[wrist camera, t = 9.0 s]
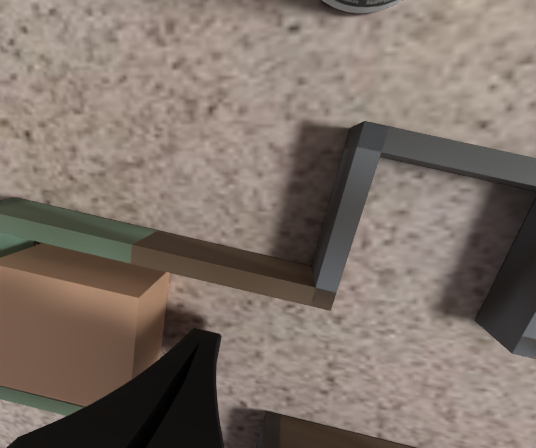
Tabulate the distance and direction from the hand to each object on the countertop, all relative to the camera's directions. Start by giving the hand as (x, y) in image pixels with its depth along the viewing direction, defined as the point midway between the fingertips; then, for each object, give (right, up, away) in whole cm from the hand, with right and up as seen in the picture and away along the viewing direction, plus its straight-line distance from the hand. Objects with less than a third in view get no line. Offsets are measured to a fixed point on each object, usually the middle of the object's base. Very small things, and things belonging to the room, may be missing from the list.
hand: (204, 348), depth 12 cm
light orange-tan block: (-5, +2, +1) cm, 6 cm away
